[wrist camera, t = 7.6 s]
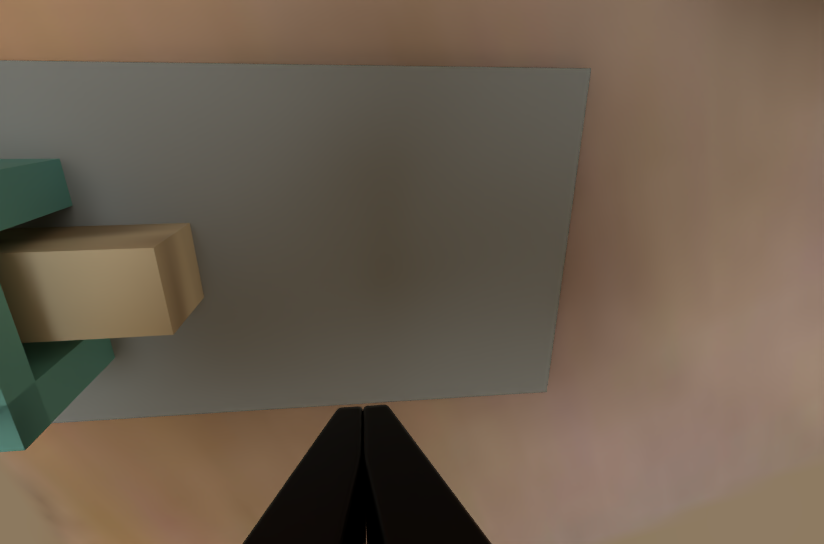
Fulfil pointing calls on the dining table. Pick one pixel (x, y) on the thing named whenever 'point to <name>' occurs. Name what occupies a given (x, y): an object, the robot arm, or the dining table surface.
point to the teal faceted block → (38, 361)
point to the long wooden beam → (99, 280)
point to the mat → (319, 222)
